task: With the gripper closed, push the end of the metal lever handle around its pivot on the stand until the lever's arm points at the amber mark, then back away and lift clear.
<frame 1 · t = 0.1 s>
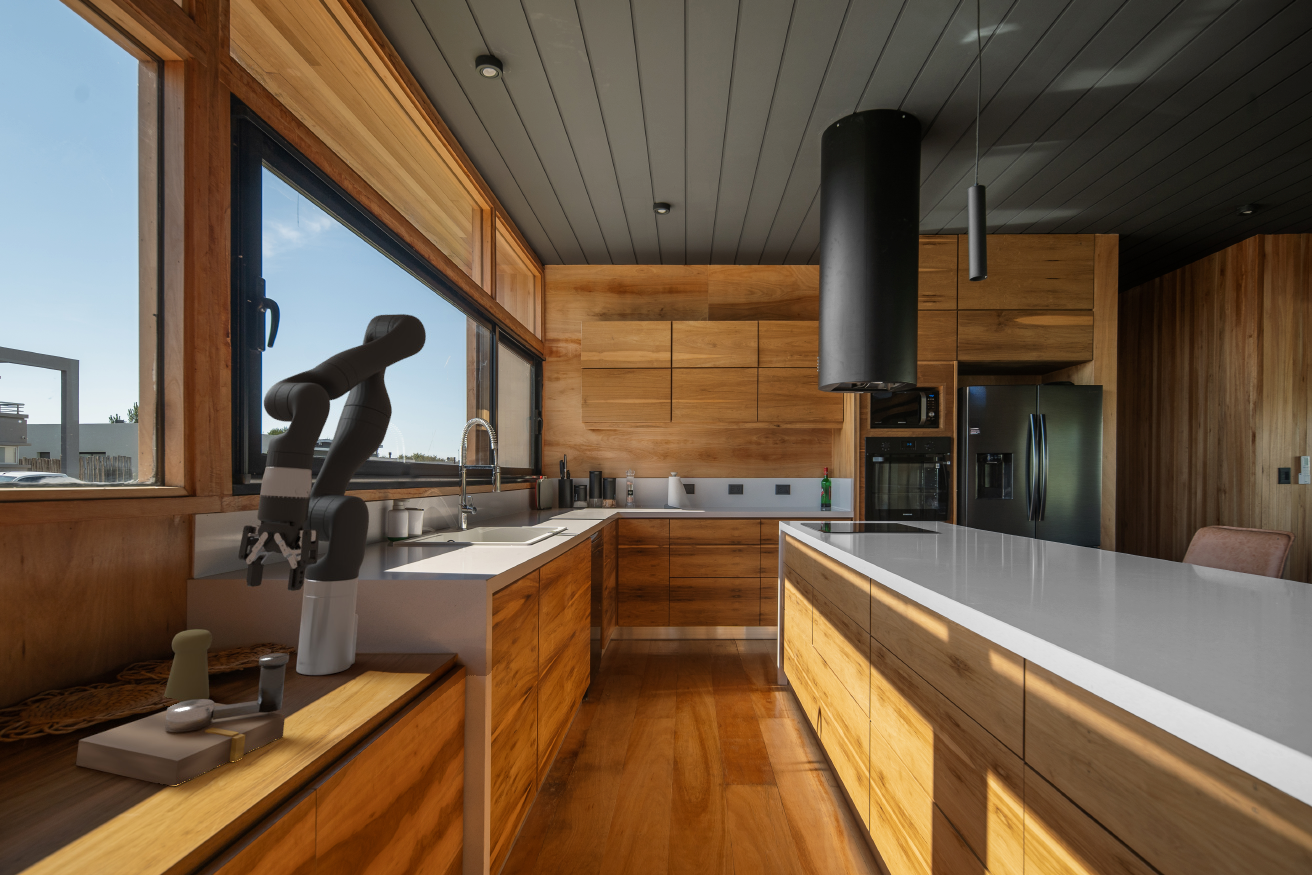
hand: (273, 588, 103), 17 cm above the worktop, tool pointing down, fingers open, 8 cm apart
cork: (185, 701, 96), on the worktop
dial stand: (186, 749, 79), on the worktop
metal lever handle: (230, 689, 82), point 7 cm above the worktop, hinge at 140.0°
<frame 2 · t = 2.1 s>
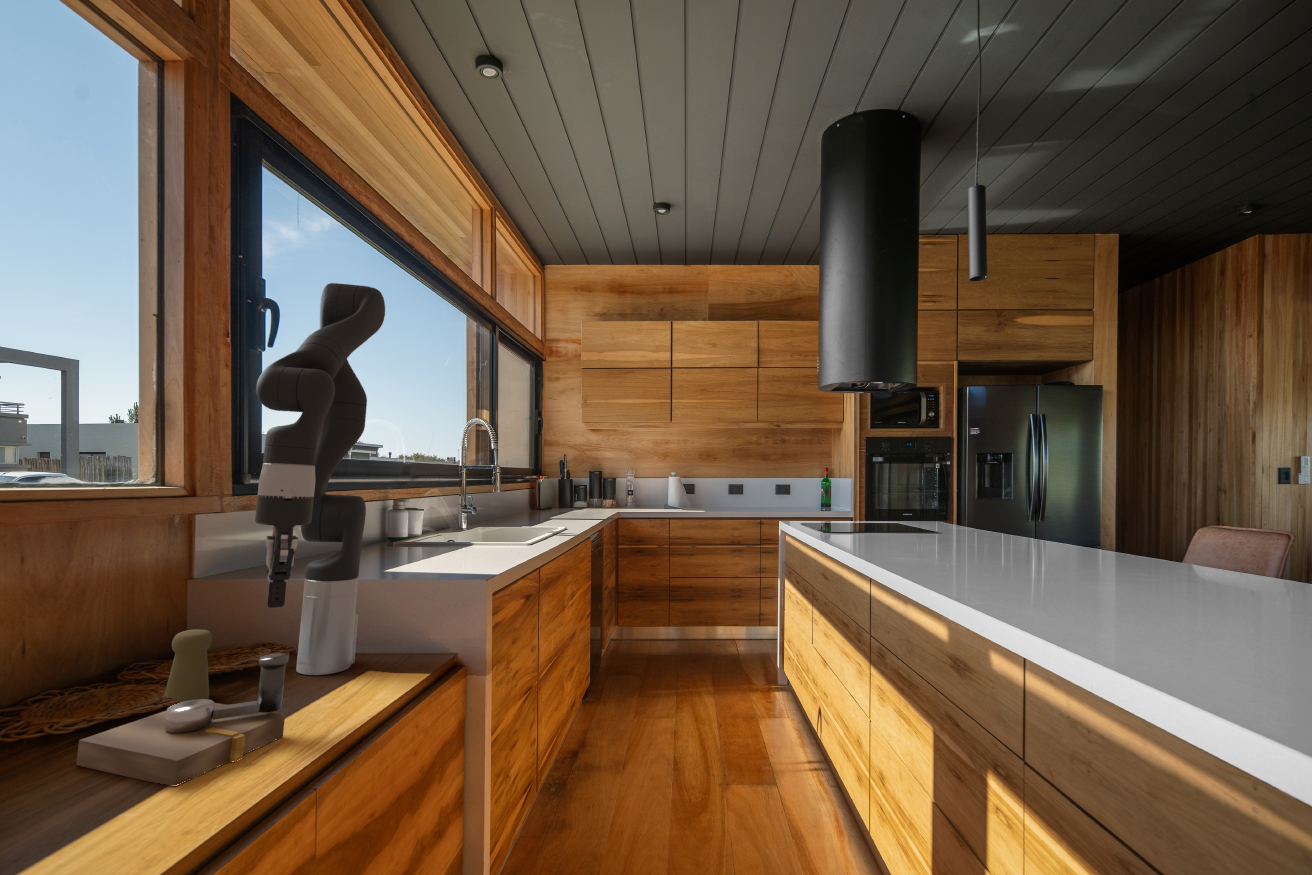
hand: (275, 606, 92), 17 cm above the worktop, tool pointing down, fingers closed
nothing on the worktop moved.
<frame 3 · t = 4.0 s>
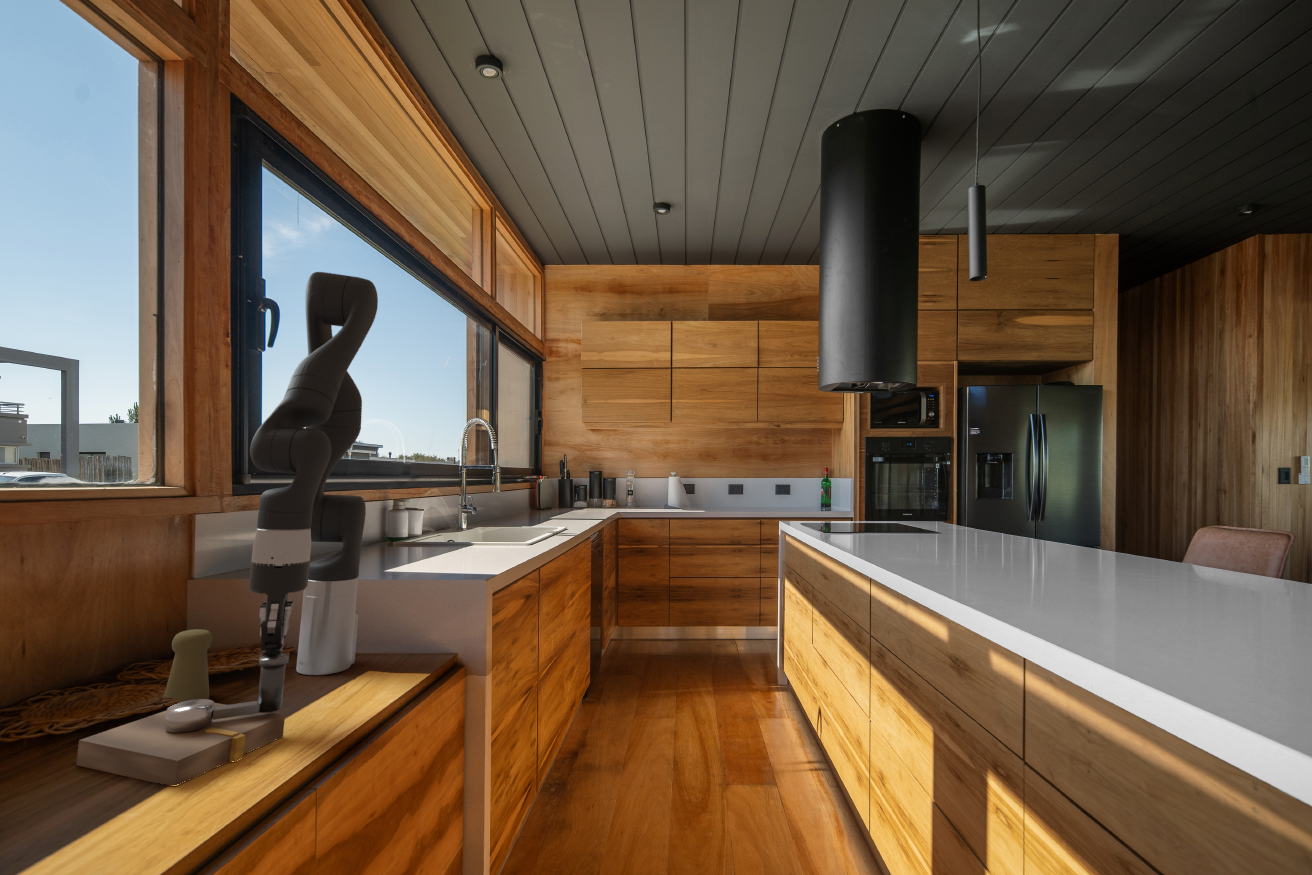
hand: (270, 675, 89), 7 cm above the worktop, tool pointing down, fingers closed
metal lever handle: (230, 689, 82), point 7 cm above the worktop, hinge at 139.6°, touching gripper
everything else where it was.
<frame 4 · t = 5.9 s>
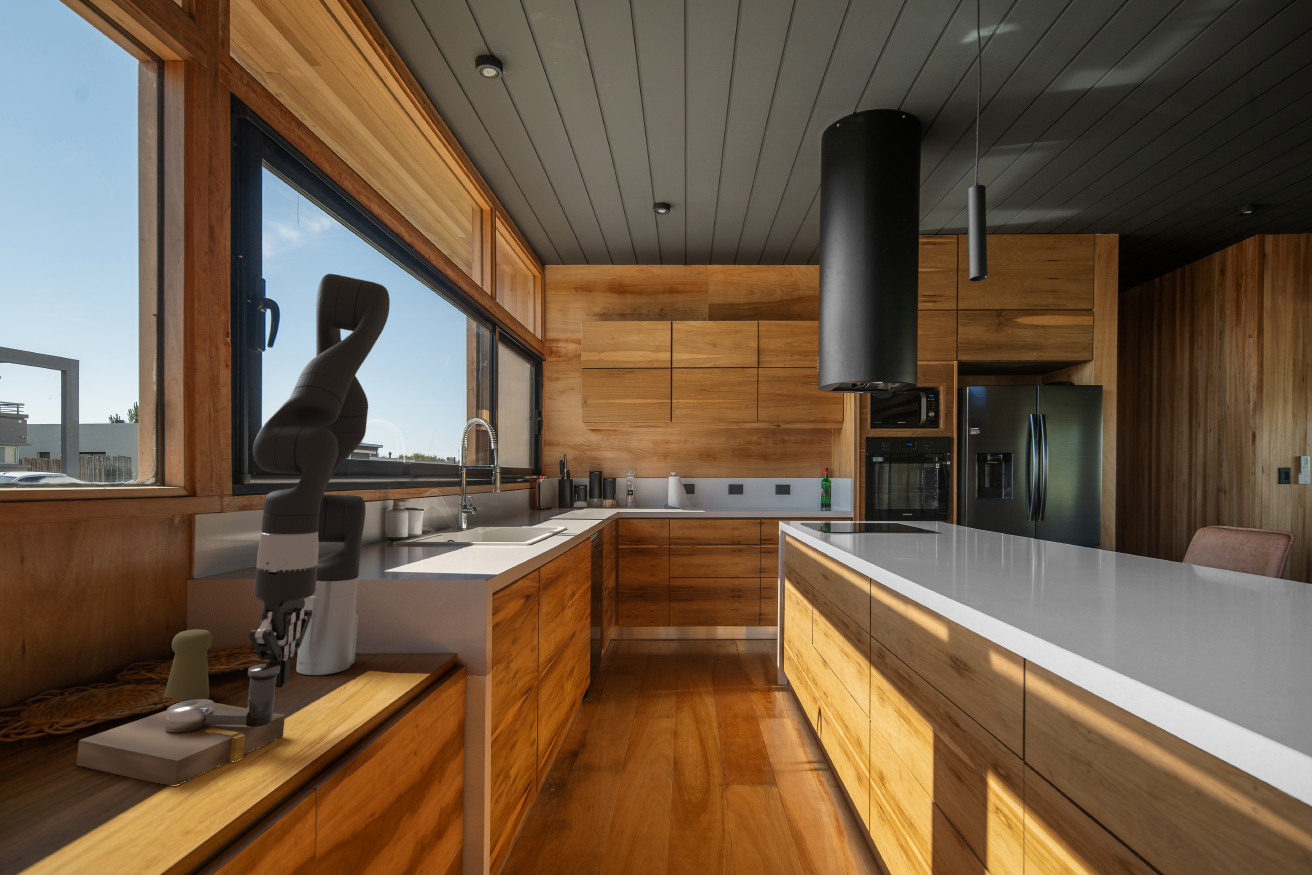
hand: (278, 685, 85), 7 cm above the worktop, tool pointing down, fingers closed
metal lever handle: (224, 695, 80), point 7 cm above the worktop, hinge at 107.5°, touching gripper
everything else where it was.
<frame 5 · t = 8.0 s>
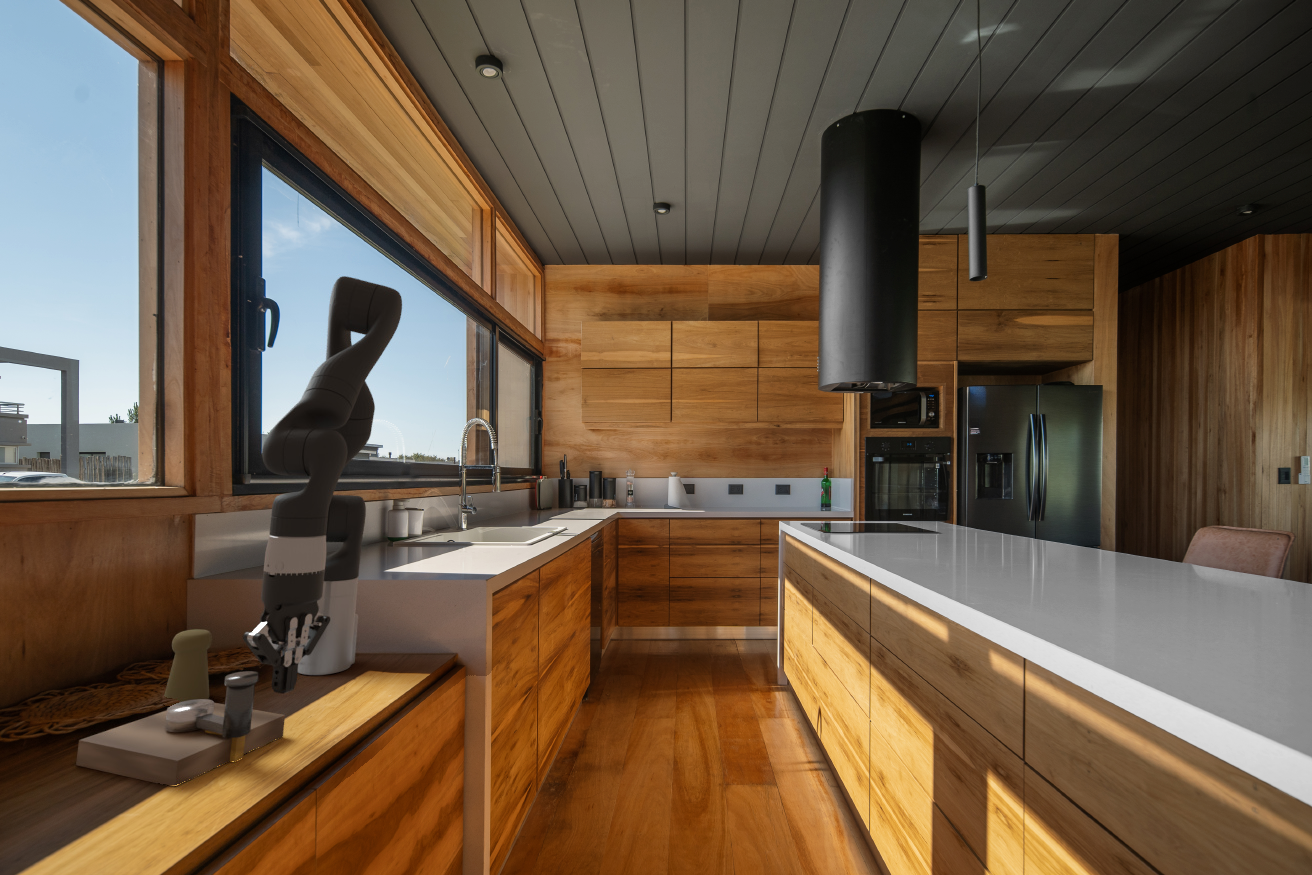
hand: (283, 691, 84), 7 cm above the worktop, tool pointing down, fingers closed
metal lever handle: (213, 699, 78), point 7 cm above the worktop, hinge at 84.2°
everything else where it was.
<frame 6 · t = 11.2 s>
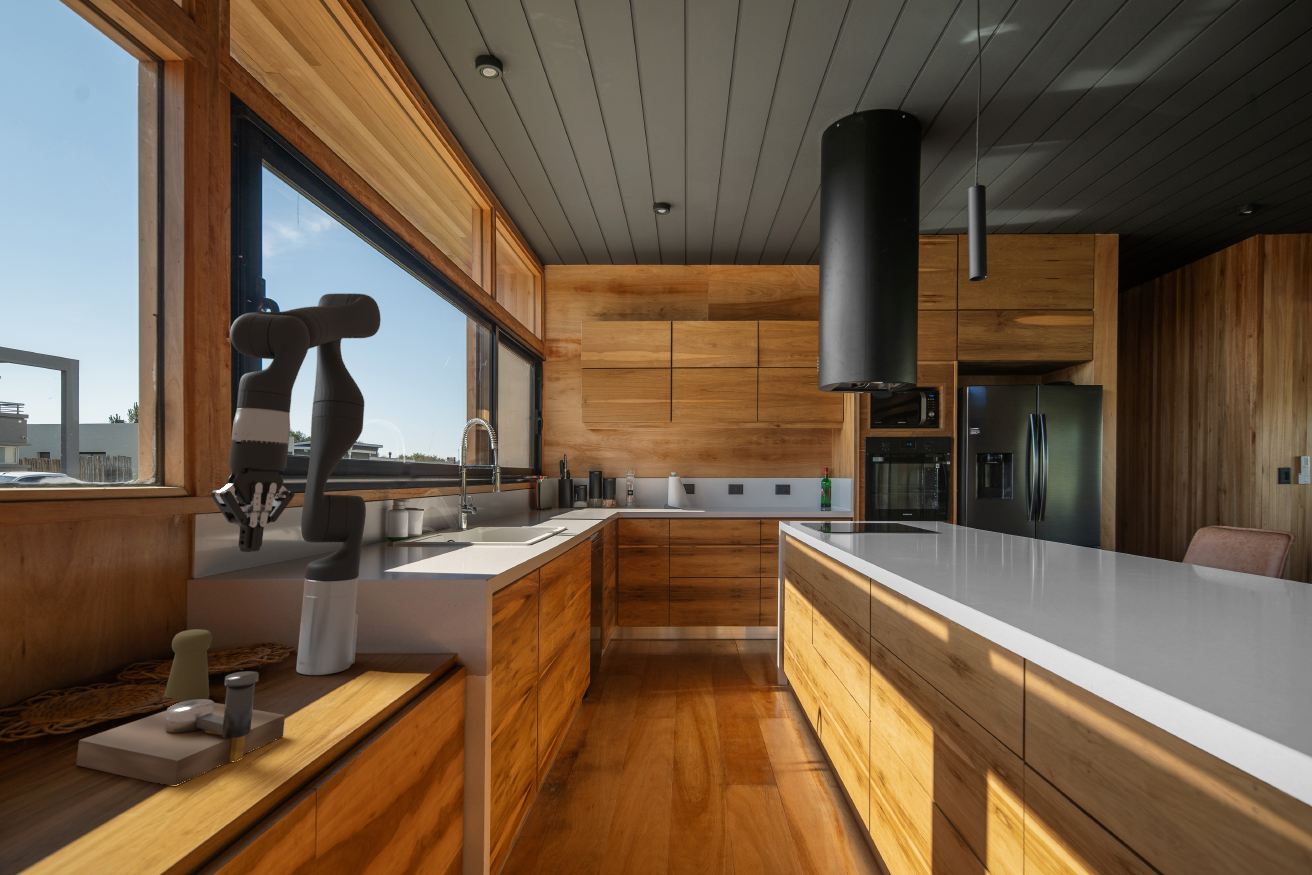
hand: (249, 551, 92), 25 cm above the worktop, tool pointing down, fingers closed
nothing on the worktop moved.
at the end: metal lever handle at +84° (first picture: +140°) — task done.
